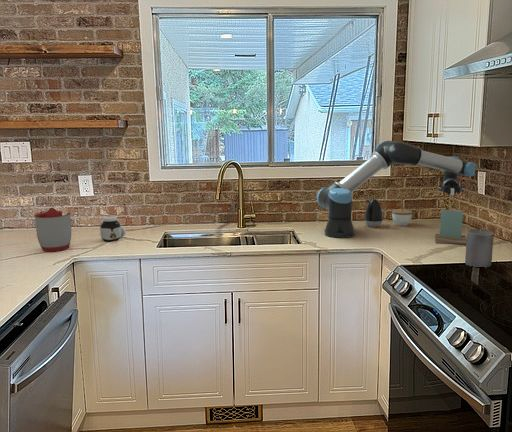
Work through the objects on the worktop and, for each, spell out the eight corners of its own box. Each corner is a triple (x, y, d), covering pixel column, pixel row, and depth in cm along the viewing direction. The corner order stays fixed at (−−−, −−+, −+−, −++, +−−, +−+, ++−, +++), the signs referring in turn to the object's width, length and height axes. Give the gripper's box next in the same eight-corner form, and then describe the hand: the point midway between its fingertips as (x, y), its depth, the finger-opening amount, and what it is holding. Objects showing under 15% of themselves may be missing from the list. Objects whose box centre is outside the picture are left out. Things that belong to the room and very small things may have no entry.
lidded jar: (406, 222, 274) (407, 206, 272) (414, 226, 263) (415, 209, 261) (388, 223, 272) (389, 207, 270) (396, 227, 262) (397, 210, 260)
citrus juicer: (83, 246, 229) (80, 205, 225) (52, 255, 214) (47, 211, 210) (62, 242, 236) (58, 203, 233) (30, 250, 222) (26, 208, 218)
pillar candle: (473, 259, 198) (476, 224, 196) (496, 265, 191) (499, 228, 188) (459, 264, 193) (462, 228, 190) (482, 270, 185) (485, 232, 182)
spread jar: (100, 242, 236) (98, 219, 234) (102, 237, 247) (101, 215, 245) (125, 240, 239) (123, 218, 236) (126, 235, 249) (125, 214, 247)
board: (435, 234, 243) (435, 233, 243) (465, 236, 238) (465, 235, 238) (435, 243, 226) (435, 241, 226) (467, 245, 222) (467, 244, 222)
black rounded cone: (370, 223, 273) (371, 197, 270) (386, 225, 265) (387, 199, 262) (360, 225, 266) (360, 199, 263) (375, 228, 258) (377, 201, 256)
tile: (439, 234, 240) (441, 209, 238) (461, 236, 237) (462, 210, 234) (439, 235, 238) (441, 210, 236) (461, 237, 235) (463, 211, 232)
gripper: (463, 193, 260) (466, 200, 239) (437, 192, 265) (438, 199, 243) (464, 179, 259) (467, 185, 237) (438, 179, 263) (439, 184, 242)
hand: (452, 192), depth 240 cm, fingers closed
